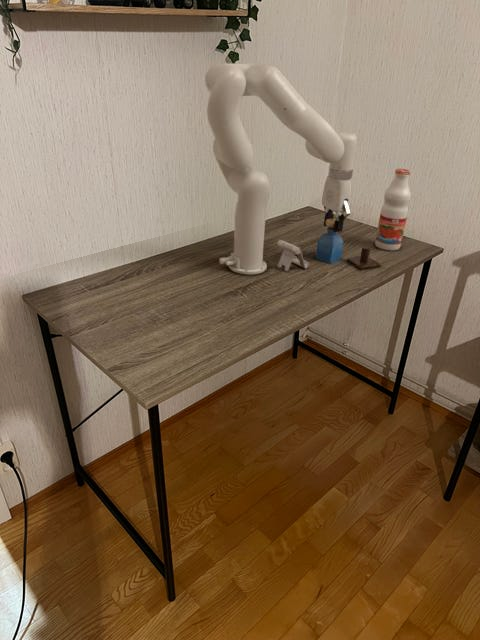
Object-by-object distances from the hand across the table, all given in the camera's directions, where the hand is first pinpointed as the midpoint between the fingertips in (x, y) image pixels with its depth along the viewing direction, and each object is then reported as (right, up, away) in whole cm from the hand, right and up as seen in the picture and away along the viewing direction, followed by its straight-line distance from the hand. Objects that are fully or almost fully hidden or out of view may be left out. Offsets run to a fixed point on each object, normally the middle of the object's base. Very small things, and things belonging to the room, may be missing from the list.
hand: (332, 228), depth 166 cm
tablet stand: (-14, -13, -2) cm, 20 cm away
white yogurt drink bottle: (+24, -4, +18) cm, 30 cm away
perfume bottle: (-1, -10, +6) cm, 11 cm away
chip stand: (+11, -12, +2) cm, 16 cm away
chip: (0, +1, 0) cm, 1 cm away
